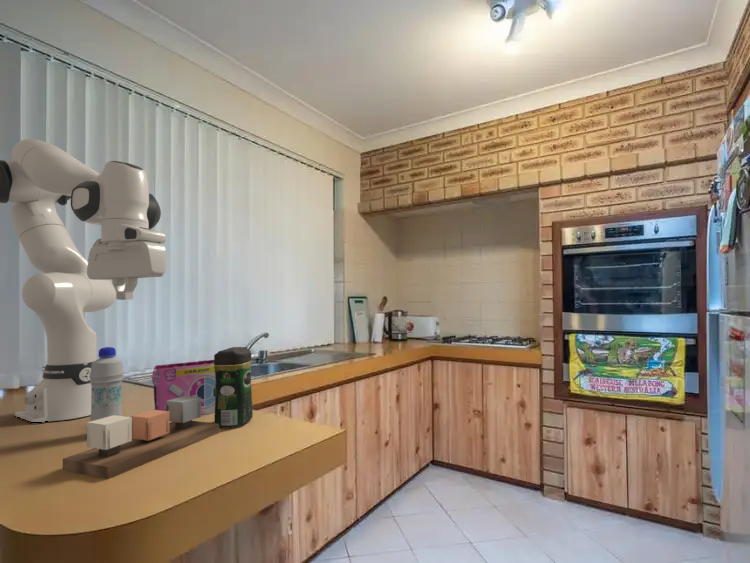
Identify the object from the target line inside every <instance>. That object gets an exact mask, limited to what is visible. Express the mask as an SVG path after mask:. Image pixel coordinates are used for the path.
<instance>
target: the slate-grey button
mask: <svg viewBox="0 0 750 563" xmlns="http://www.w3.org/2000/svg"><path fill="white" fill-rule="evenodd" d="M166 411H169V423H171V422H178V423H185V422H187V421H190V420H192V421H194V420H195V419H199V418H201V417H202V415H201V397H191V396H182V397H179V398H175V399H171V400H168V401H166Z"/></svg>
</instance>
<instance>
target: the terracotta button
mask: <svg viewBox="0 0 750 563" xmlns="http://www.w3.org/2000/svg"><path fill="white" fill-rule="evenodd" d="M129 417H132V438H133V439H140V440H147V441H148V440H151V439H154V438H157V437H160V436H162V435H165V434H168V433H169V423H170V421H169V411H160V410H155V409H150V410H146V411H143V412H140V413H137V414H133V415H130V416H129Z"/></svg>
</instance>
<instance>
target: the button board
mask: <svg viewBox="0 0 750 563" xmlns="http://www.w3.org/2000/svg"><path fill="white" fill-rule="evenodd" d="M219 433H220V427H219V424H217V423H214V422H207V421H206V422H205V421H199V420H190V421H187V422H185V423H178V422H169V433H168V434H165V435H162V436H160V437H157V438H154V439H151V440H148V441H147V440H140V439H133V438H132V441H130V442H127V443H124V444H121V445H118V446H116V447H113V448H110V449H107V450H103V449H97V448H90V449H86V450H84V451H82V452H79V453H75V454H71V455H69V456H66V457H63V458H62V471H67V472H70V473H77V474H81V475H86V476H90V477H96V478H101V479H105V480H109V479H111V478H114V477H117V476H118V475H121V474H123V473H126V472H128V471H131V470H133V469H135V468H138V467H140V466H143V465H145V464H147V463H150V462H152V461H155V460H157V459H159V458H162V457H164V456H166V455H169V454H171V453H174V452H176V451H178V450H180V449H183V448H186V447H188V446H191V445H193V444H196V443H198V442H200V441H202V440H205V439H208V438H210V437H212V436H215V435H216V434H219Z"/></svg>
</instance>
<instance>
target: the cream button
mask: <svg viewBox="0 0 750 563" xmlns="http://www.w3.org/2000/svg"><path fill="white" fill-rule="evenodd" d="M86 424H87V425H86V426H87V428H86V447H87V448H90V449H93V448H97V449H103V450H107V449H110V448H113V447H116V446H118V445H121V444H124V443H127V442H130V441H132V417H130V416H124V415H122V416H116V415H113V416H109V417H105V418H102V419H98V420H94V421H91V422H90V421H88V422H87V423H86Z"/></svg>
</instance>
